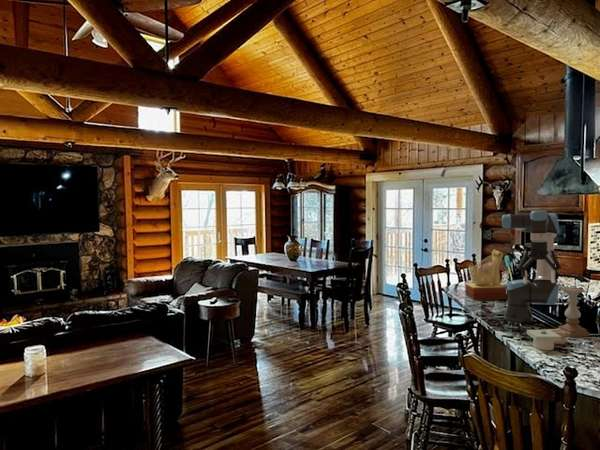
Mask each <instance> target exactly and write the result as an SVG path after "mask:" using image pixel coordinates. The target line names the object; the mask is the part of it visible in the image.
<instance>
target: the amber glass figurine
mask: <svg viewBox="0 0 600 450" xmlns="http://www.w3.org/2000/svg"><path fill="white" fill-rule="evenodd" d="M503 257H504V253H503V252H502V251H499V250H496V248H494V249H493V250H492V252H491V255H489V256H486V257H485V258H484V259H482V260H481V261H480V262H479V263H478V264H475V265H470V264H469V265H468V268H469V269H468V270H469V274H470V276H471V280H472V282H469V283H468V282H467V283H465V296H466V297H468V298H470V299H471V300H473V301H479V300H480V301H482V300H506V299H507V286H506V285H503V284H501V283H500V274H499V268H500V266H501V261H502V259H503ZM485 263H489V264H490V263H491V264H490V265H489V269H488V272H489V273H487V268H486V267H484V266H485V265H488V264H485ZM483 264H484V266H482V265H483ZM481 266H482V267H483V268H484V270H483V268H482V270H483V271H482V270H480V268H481ZM487 267H488V266H487ZM490 267H492V269H491V268H490ZM490 269H491V270H490ZM485 270H486V273H485ZM489 270H490V271H489ZM480 271H481V272H480ZM486 274H487V275H486ZM488 274H489V275H488ZM491 275H492V276H491Z"/></svg>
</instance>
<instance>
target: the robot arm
mask: <svg viewBox="0 0 600 450" xmlns="http://www.w3.org/2000/svg"><path fill="white" fill-rule="evenodd" d="M501 227H502V228H503V229H514V230H516V231H520V232H522V233H523V232H524V233H530V251H528V250H523V255H522V257H521V259H520V261H519V263H518V265H517V267H516V268H517V269H518V270H520V271H521V273H520V274H521V275H520V276H521V277H523V278H522V279H515V280H510V281H509V282H507V287H506V291H507V306H506V310H505V312H504V319H505V320H506V321H508V322H516V323H529V322H533V320H534V317H533V313H532V310H531V308H530V304H540V305H541V304H542V305H556V304H557V302H558V298H559V293H560V285H559V284H558V283H557V280H556V277H557V276H558V270H560V269H562V266H561V265H560V263H559V261H558V259H557V257H556V256H555V247H554V245H555V238H556V237H557V236H558V234H559V233H560V232H561V231H560V225H559V217H558V214H556V213H554V212H547V211H546V210H531V211H530V212H529V213H521V214H519V213H518V214H517V213H516V214H515V213H514V214H509V213H508V214H503V215H502V217H501ZM529 256H530V257H529ZM528 257H529V259H528ZM535 260H536V277H535V278H534V279H533V282H530V280H529V279H528V271H527V269H528V267H530V266H531V264H532V263H533V262H534V261H535Z"/></svg>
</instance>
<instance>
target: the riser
mask: <svg viewBox="0 0 600 450" xmlns="http://www.w3.org/2000/svg"><path fill="white" fill-rule="evenodd" d="M546 330H551V331H553V332H554V333H556V334H558V335H559V336H561V341H554V345H555V344H556V345H557V344H558V345H559V344H560V345H561V344H566V343H567V339H566V337H567V336H566V332H564V331H562V330H560V329H557V328H546Z"/></svg>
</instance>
